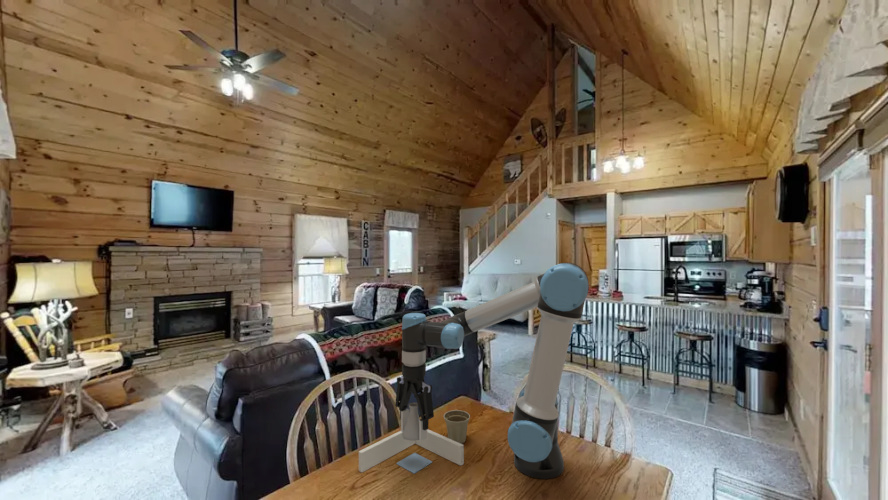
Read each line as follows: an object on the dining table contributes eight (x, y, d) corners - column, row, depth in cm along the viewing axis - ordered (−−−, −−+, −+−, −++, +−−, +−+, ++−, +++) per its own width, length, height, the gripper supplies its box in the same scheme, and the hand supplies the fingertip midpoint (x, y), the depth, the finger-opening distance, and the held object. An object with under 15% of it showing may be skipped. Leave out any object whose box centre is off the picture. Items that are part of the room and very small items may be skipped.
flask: (425, 430, 123) (426, 399, 123) (424, 441, 116) (424, 409, 116) (403, 430, 123) (403, 399, 123) (400, 441, 116) (400, 409, 116)
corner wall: (463, 463, 119) (463, 444, 119) (408, 502, 101) (407, 480, 101) (415, 440, 134) (414, 423, 134) (358, 470, 116) (358, 451, 116)
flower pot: (460, 450, 127) (460, 424, 127) (438, 441, 133) (438, 417, 133) (475, 438, 135) (475, 414, 135) (453, 430, 140) (453, 407, 140)
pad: (432, 462, 120) (432, 461, 120) (414, 473, 114) (414, 473, 114) (414, 453, 125) (414, 452, 125) (396, 463, 119) (396, 463, 119)
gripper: (446, 366, 115) (446, 441, 116) (400, 354, 129) (400, 420, 129) (429, 373, 110) (429, 451, 110) (383, 359, 123) (383, 428, 123)
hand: (413, 434), depth 119 cm, fingers closed on flask, 8 cm apart
